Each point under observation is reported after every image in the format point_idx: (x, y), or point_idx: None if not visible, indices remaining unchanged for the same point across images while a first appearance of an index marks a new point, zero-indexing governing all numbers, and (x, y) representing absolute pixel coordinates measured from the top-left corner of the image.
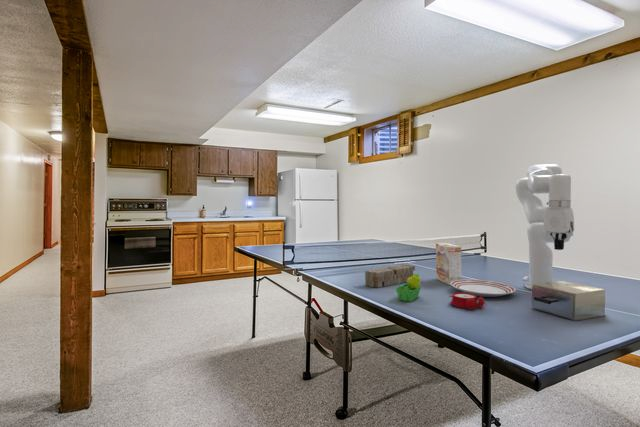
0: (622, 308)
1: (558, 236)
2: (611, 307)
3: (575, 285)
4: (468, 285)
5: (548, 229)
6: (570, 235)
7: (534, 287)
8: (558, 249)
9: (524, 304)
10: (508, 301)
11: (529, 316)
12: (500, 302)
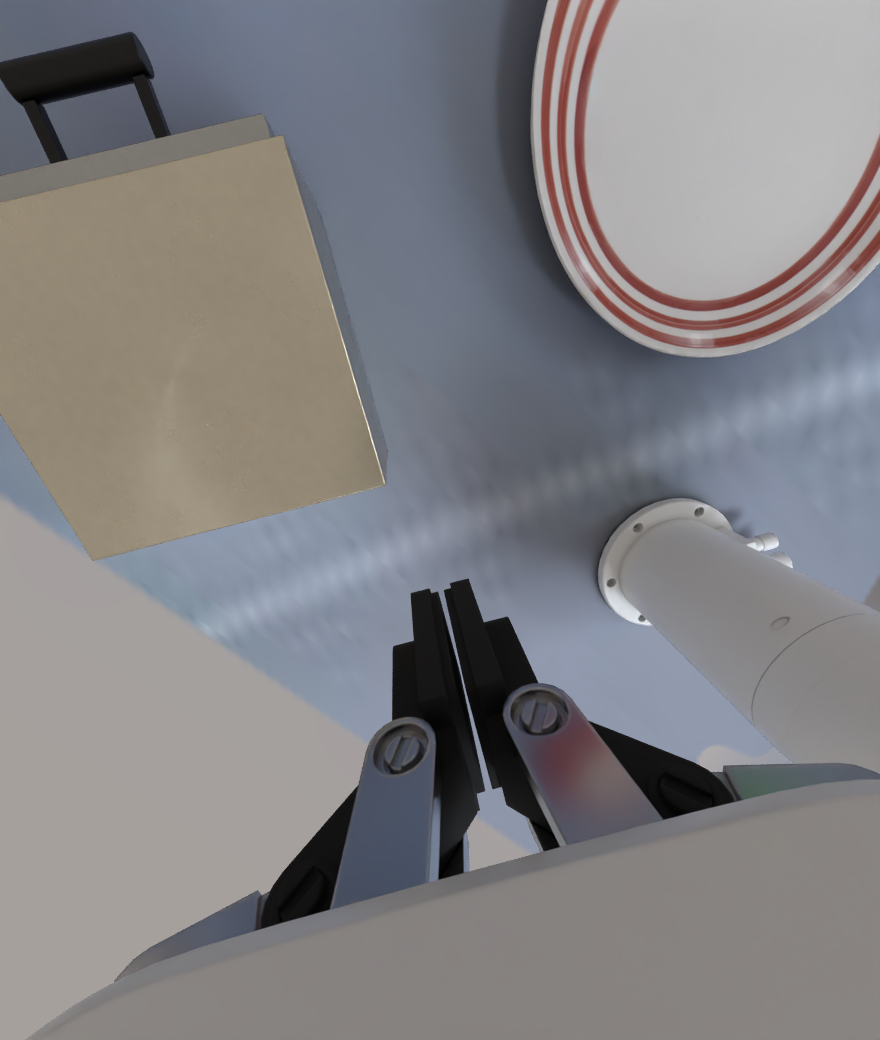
0: (292, 652)
1: (434, 793)
2: (309, 624)
3: (211, 461)
4: (871, 94)
5: (856, 906)
6: (132, 968)
7: (237, 119)
8: (413, 598)
9: (403, 225)
10: (482, 163)
11: (132, 25)
12: (471, 74)
